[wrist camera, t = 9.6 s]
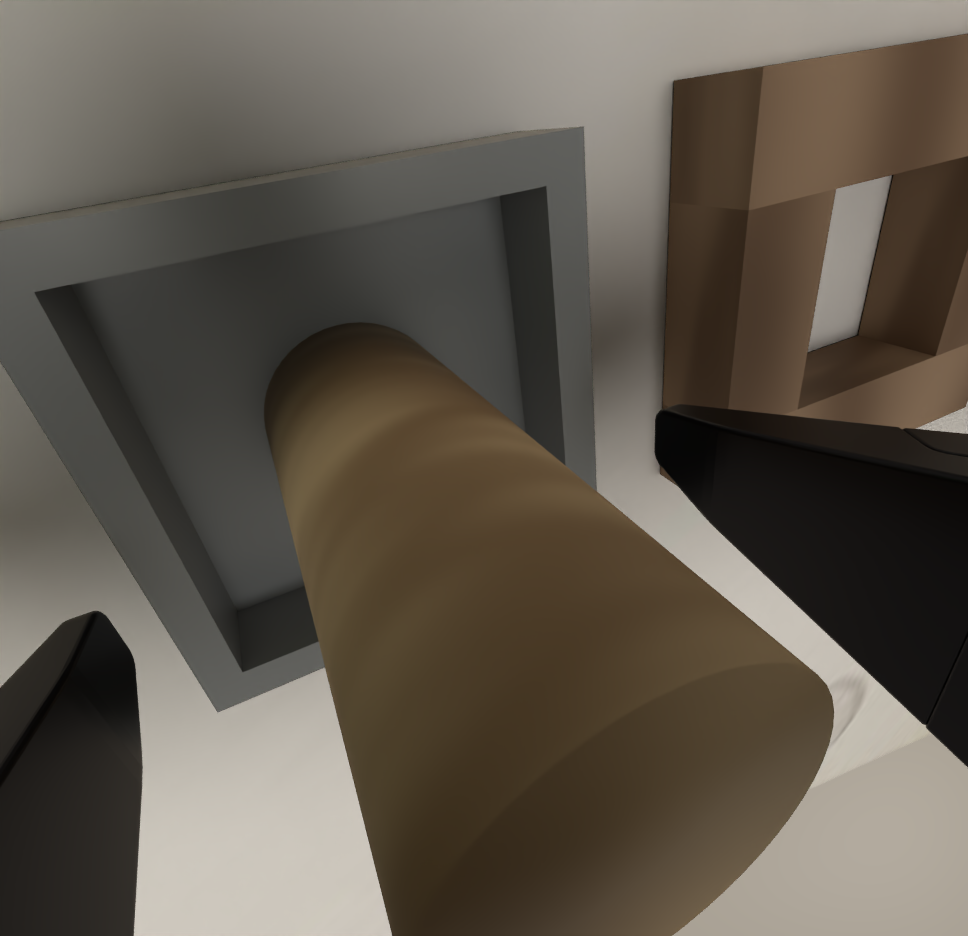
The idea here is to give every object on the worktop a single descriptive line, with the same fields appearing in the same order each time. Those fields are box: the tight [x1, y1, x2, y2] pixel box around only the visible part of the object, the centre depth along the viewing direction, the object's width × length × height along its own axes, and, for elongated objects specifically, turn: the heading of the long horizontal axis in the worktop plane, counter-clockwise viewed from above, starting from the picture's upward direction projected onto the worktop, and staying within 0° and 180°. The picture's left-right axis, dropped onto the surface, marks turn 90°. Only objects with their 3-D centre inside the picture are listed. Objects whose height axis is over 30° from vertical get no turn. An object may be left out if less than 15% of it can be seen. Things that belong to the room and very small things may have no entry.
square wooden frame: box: [660, 34, 968, 485], centre depth 16 cm, size 10×10×2 cm
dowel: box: [264, 322, 834, 936], centre depth 9 cm, size 4×4×10 cm
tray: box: [0, 127, 597, 712], centre depth 12 cm, size 10×10×2 cm
